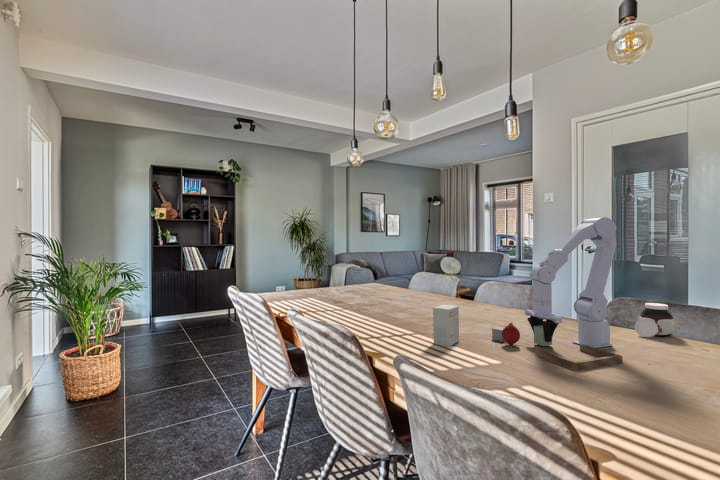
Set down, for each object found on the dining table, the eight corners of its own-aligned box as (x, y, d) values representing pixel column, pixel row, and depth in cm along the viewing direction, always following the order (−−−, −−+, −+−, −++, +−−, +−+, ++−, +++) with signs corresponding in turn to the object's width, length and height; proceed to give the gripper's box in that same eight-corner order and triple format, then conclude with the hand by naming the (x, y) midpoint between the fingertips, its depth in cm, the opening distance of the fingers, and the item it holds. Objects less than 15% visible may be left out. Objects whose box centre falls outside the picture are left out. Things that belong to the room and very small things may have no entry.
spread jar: (672, 334, 138) (671, 303, 138) (678, 341, 129) (677, 309, 129) (632, 330, 145) (632, 301, 145) (635, 337, 135) (635, 306, 135)
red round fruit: (521, 348, 124) (521, 324, 124) (503, 347, 125) (503, 324, 125) (518, 343, 129) (517, 320, 129) (500, 342, 130) (500, 320, 130)
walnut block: (582, 349, 121) (582, 343, 121) (622, 362, 108) (622, 355, 108) (538, 356, 115) (538, 349, 115) (575, 370, 103) (575, 363, 103)
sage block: (542, 341, 129) (542, 324, 129) (552, 344, 125) (551, 327, 125) (533, 343, 128) (533, 325, 128) (542, 346, 124) (542, 328, 124)
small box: (443, 338, 136) (443, 303, 136) (459, 341, 132) (459, 305, 132) (432, 343, 130) (432, 307, 130) (449, 346, 126) (448, 309, 126)
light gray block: (498, 337, 138) (498, 326, 138) (508, 339, 135) (507, 328, 135) (492, 339, 136) (492, 328, 136) (502, 341, 132) (502, 330, 132)
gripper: (517, 298, 132) (518, 335, 132) (550, 304, 118) (550, 346, 118) (533, 296, 134) (533, 333, 134) (567, 303, 120) (567, 344, 120)
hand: (542, 339), depth 126 cm, fingers closed on sage block, 4 cm apart
